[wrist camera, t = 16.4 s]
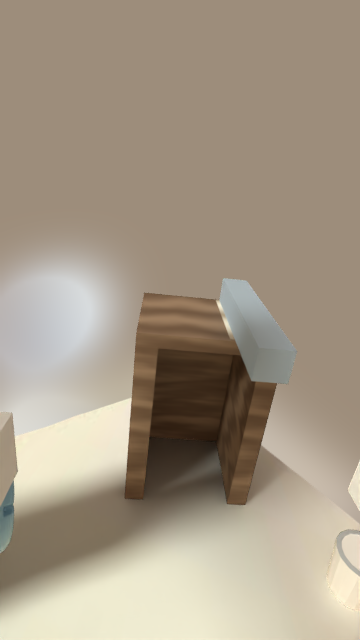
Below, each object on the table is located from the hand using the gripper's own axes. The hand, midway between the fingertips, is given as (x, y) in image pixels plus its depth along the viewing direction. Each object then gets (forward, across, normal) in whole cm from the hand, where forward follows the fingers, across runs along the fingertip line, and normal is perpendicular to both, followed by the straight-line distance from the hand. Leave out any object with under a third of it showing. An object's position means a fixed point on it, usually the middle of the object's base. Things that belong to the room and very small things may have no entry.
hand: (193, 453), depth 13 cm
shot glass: (+18, +28, -40) cm, 52 cm away
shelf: (+38, +6, -40) cm, 56 cm away
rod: (+34, +11, -10) cm, 37 cm away
